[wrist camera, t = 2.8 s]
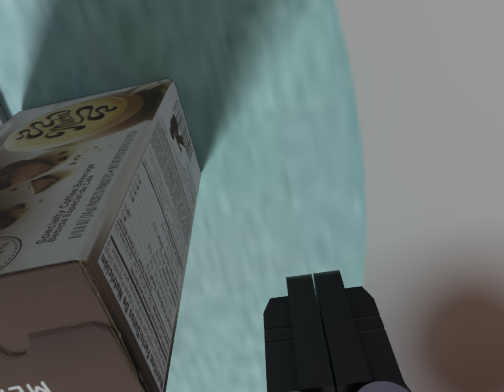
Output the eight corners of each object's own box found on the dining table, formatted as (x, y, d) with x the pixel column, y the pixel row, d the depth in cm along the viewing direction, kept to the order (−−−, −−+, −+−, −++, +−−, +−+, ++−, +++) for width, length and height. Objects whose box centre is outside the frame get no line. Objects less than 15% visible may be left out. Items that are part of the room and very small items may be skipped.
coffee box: (65, 204, 28) (-116, 473, 14) (17, 108, 24) (-283, 330, 10) (205, 177, 27) (165, 433, 13) (175, 73, 24) (78, 264, 10)
